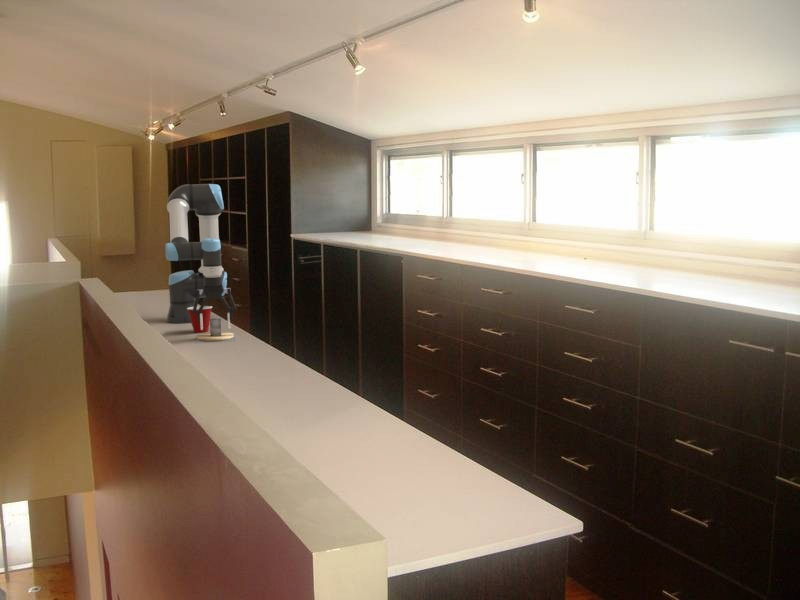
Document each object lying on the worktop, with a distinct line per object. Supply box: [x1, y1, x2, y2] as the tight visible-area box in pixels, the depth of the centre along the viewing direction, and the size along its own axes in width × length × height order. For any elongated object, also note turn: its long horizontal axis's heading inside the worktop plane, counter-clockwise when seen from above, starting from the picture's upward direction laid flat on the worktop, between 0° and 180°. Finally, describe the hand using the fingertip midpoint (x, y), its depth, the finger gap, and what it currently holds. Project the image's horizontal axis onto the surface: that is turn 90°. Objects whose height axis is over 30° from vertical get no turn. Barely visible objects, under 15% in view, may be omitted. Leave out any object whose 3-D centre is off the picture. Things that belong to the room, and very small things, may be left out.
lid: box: [198, 317, 234, 343], centre depth 331 cm, size 15×15×8 cm
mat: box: [194, 332, 237, 344], centre depth 332 cm, size 17×16×1 cm
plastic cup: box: [187, 305, 213, 334], centre depth 346 cm, size 11×11×12 cm
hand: (215, 328), depth 331 cm, fingers open, 10 cm apart
